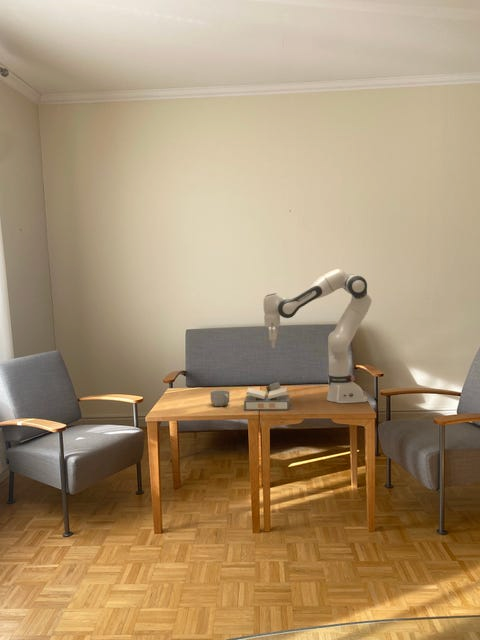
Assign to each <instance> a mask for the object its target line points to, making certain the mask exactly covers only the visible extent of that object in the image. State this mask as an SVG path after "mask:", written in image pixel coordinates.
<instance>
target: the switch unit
mask: <svg viewBox="0 0 480 640" xmlns="http://www.w3.org/2000/svg"><path fill="white" fill-rule="evenodd" d="M290 398H291V397H290V394H285V395H281V396H278V397H274V398H271V399H269V398H268V394H265V398H264V399H262V398H258V397H254V396H250V395H246V396H245V397H244V401H243V406H244V407H243V409H244V412H245V411H290V406H291V405H290V404H291V402H290V400H291V399H290Z"/></svg>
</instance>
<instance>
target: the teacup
mask: <svg viewBox="0 0 480 640" xmlns="http://www.w3.org/2000/svg"><path fill="white" fill-rule="evenodd" d="M209 392H210V393H209V394H210V402H211V404H212V405H213V406H215V407H225V406H227V404H229V402H230V391H229V390H223V389H215V390H211V391H209Z"/></svg>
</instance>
